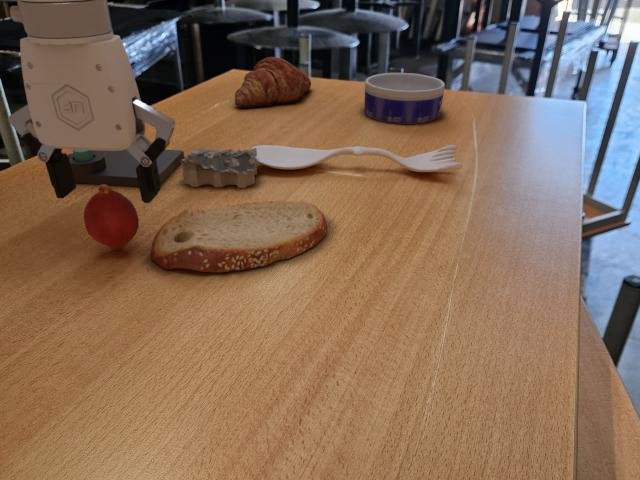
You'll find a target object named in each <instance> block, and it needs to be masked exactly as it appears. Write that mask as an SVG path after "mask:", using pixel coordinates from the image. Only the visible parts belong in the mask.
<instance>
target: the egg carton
mask: <svg viewBox="0 0 640 480" xmlns="http://www.w3.org/2000/svg"><path fill="white" fill-rule="evenodd" d="M256 156H257V149H256V148H254V149H244V150H240V149H237V150H236V151H235V150H233V148H229V149H225V150H224V149H217V150H212V149H210V148H205V147H199V148H196V149H194V150H193V151H191V152H190V153H188V154H187V155H186V157H184V159H180V165H181V168H182V174H183V175H182V176H183V182H184V185H189V186H190V187H191V188H199V187H201V186H203V185H211V186H213V187H214V188H223V187H225V186H230V185H231V186H236V187H237V188H239V189H245V188H247V187H249V186H252V185H254V184H255V183H256V179H255V176H256V175H257V174H258V167H257V166H258V165H257V162H256Z"/></svg>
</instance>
